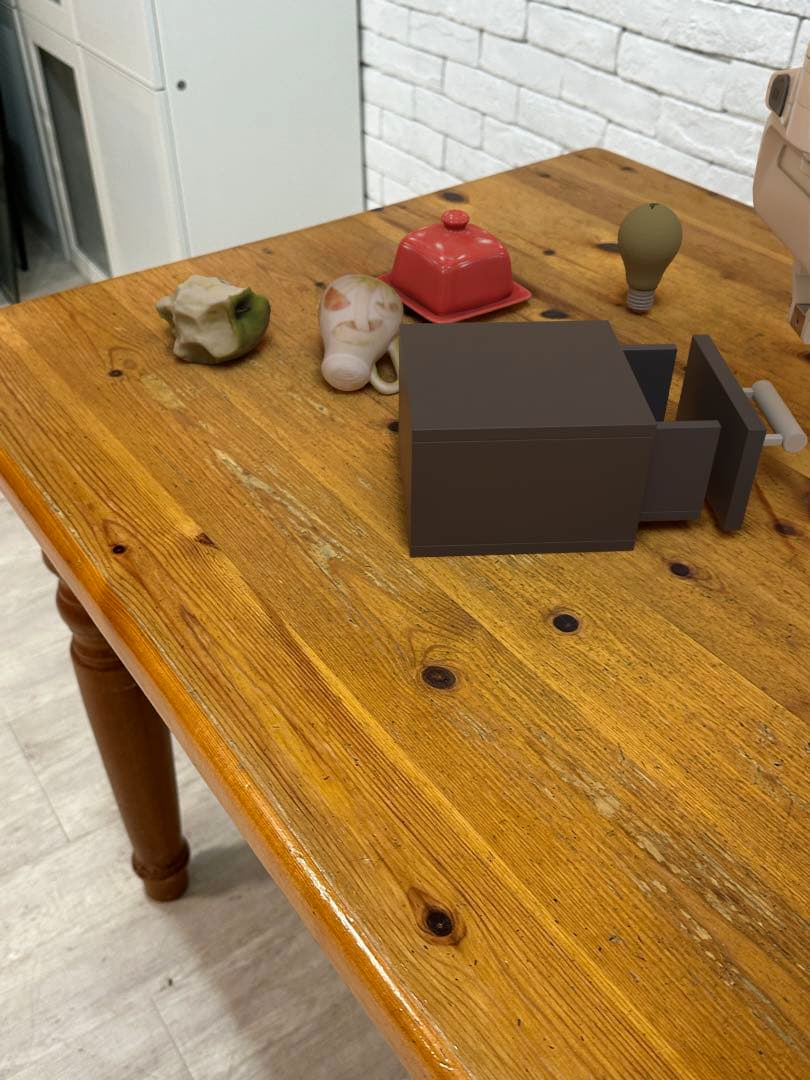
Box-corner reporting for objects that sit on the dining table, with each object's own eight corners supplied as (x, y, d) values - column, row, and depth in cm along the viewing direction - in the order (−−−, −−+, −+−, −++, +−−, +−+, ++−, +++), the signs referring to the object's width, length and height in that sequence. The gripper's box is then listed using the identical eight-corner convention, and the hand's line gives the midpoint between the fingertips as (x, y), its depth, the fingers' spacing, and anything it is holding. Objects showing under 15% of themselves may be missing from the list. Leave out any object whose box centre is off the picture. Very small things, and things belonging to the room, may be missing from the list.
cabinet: (591, 437, 80) (608, 319, 74) (633, 550, 69) (657, 423, 63) (398, 441, 79) (399, 323, 73) (410, 557, 68) (412, 429, 62)
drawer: (744, 427, 79) (768, 332, 74) (804, 528, 69) (836, 427, 65) (510, 432, 78) (518, 337, 73) (537, 536, 68) (549, 434, 64)
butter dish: (538, 307, 97) (547, 218, 92) (437, 340, 92) (440, 247, 87) (464, 264, 104) (468, 179, 99) (367, 292, 99) (365, 204, 94)
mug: (300, 403, 84) (285, 276, 82) (344, 398, 93) (331, 283, 91) (389, 394, 81) (374, 263, 80) (424, 389, 90) (412, 271, 89)
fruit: (286, 375, 89) (275, 298, 83) (178, 398, 88) (159, 322, 81) (263, 310, 95) (252, 234, 89) (161, 331, 93) (142, 255, 87)
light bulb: (607, 295, 99) (621, 191, 93) (666, 300, 99) (685, 195, 92) (607, 322, 95) (623, 214, 89) (670, 326, 94) (690, 218, 88)
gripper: (1018, 179, 52) (924, 418, 61) (854, 70, 68) (798, 271, 77) (896, 178, 52) (819, 418, 60) (760, 68, 68) (714, 270, 76)
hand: (806, 334), depth 69 cm, fingers closed
